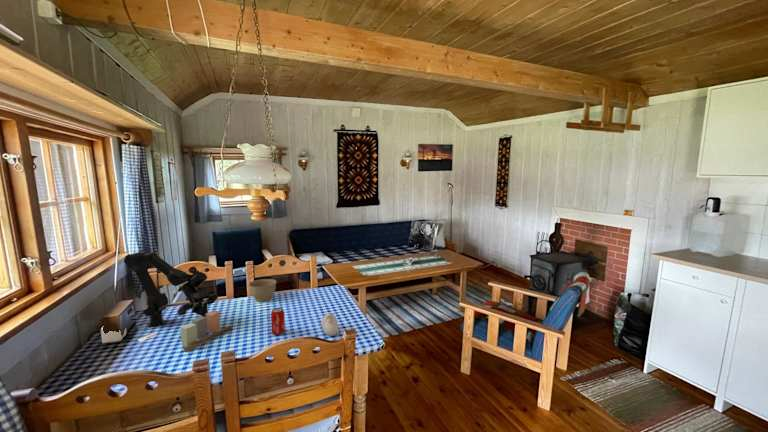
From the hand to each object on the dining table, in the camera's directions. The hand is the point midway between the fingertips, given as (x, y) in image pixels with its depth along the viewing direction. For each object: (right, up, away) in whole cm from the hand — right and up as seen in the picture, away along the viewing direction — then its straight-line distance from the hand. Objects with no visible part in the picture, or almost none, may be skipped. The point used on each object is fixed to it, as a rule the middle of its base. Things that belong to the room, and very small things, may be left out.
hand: (207, 317), depth 158 cm
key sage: (0, -8, -15) cm, 17 cm away
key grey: (+1, -7, -7) cm, 10 cm away
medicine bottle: (-39, -8, -8) cm, 41 cm away
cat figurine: (+61, -8, +1) cm, 62 cm away
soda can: (+36, -7, -1) cm, 37 cm away
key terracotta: (+4, -6, -1) cm, 7 cm away
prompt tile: (-20, -8, -9) cm, 24 cm away
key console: (+2, -8, -8) cm, 11 cm away
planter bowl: (+12, -2, +42) cm, 44 cm away
